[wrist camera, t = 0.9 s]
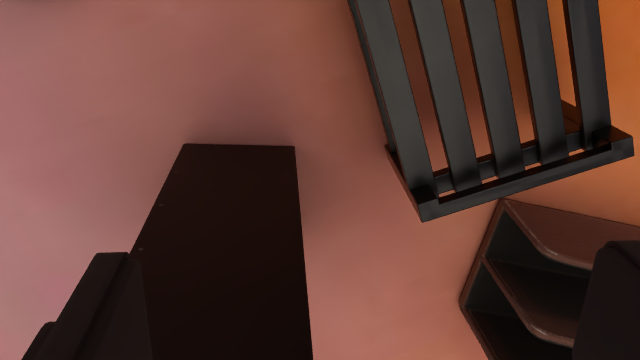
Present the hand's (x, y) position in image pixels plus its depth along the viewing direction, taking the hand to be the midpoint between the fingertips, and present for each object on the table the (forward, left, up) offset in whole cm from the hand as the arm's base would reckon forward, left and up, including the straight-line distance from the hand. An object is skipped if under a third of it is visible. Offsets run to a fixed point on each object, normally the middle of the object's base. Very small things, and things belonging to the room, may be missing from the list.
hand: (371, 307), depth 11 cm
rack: (0, +9, -27) cm, 29 cm away
